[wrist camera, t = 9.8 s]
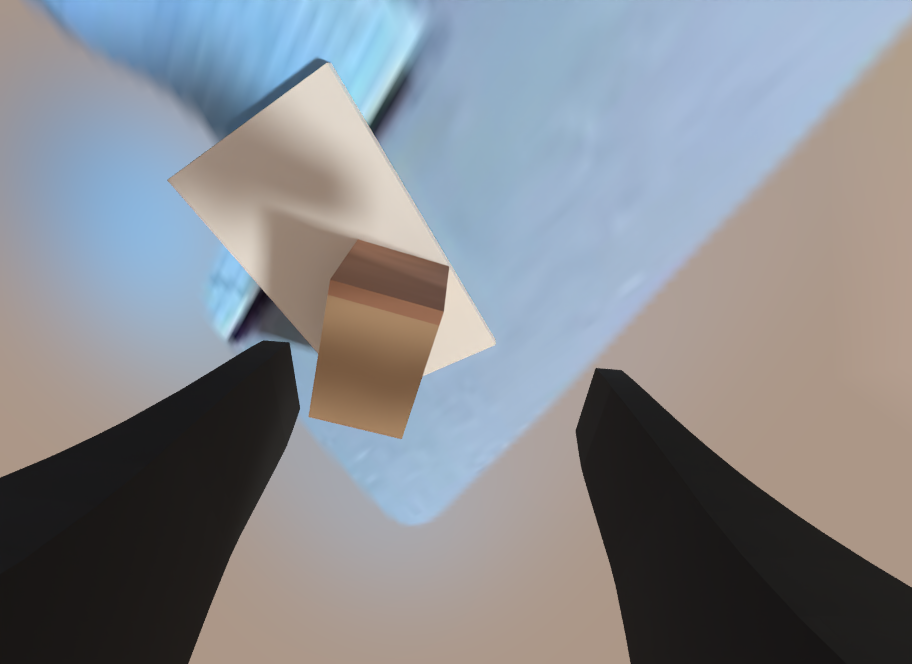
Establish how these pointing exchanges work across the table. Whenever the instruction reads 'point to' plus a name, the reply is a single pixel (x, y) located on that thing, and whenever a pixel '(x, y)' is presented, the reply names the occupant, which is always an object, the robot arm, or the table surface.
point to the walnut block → (377, 338)
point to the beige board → (318, 208)
